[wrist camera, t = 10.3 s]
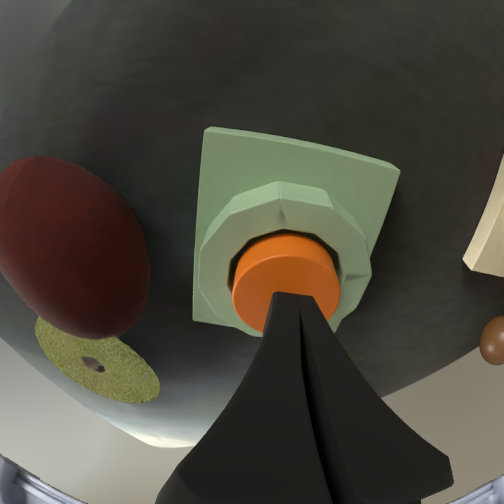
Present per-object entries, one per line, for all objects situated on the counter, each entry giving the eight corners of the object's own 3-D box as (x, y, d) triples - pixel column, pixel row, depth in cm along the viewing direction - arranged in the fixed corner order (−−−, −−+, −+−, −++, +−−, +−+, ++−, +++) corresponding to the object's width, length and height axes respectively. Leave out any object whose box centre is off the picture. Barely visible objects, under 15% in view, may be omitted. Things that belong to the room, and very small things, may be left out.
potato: (125, 304, 17) (87, 382, 12) (18, 196, 13) (-49, 248, 8) (203, 243, 14) (169, 339, 9) (68, 101, 10) (-28, 131, 5)
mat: (25, 300, 18) (13, 315, 16) (120, 287, 16) (107, 309, 14) (91, 382, 24) (85, 397, 22) (187, 388, 22) (183, 408, 20)
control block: (329, 324, 17) (336, 363, 14) (196, 306, 16) (185, 345, 14) (390, 162, 11) (421, 185, 9) (209, 126, 11) (192, 138, 8)
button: (318, 316, 13) (322, 341, 11) (230, 304, 13) (226, 330, 11) (346, 241, 11) (356, 264, 9) (242, 224, 10) (238, 246, 9)
